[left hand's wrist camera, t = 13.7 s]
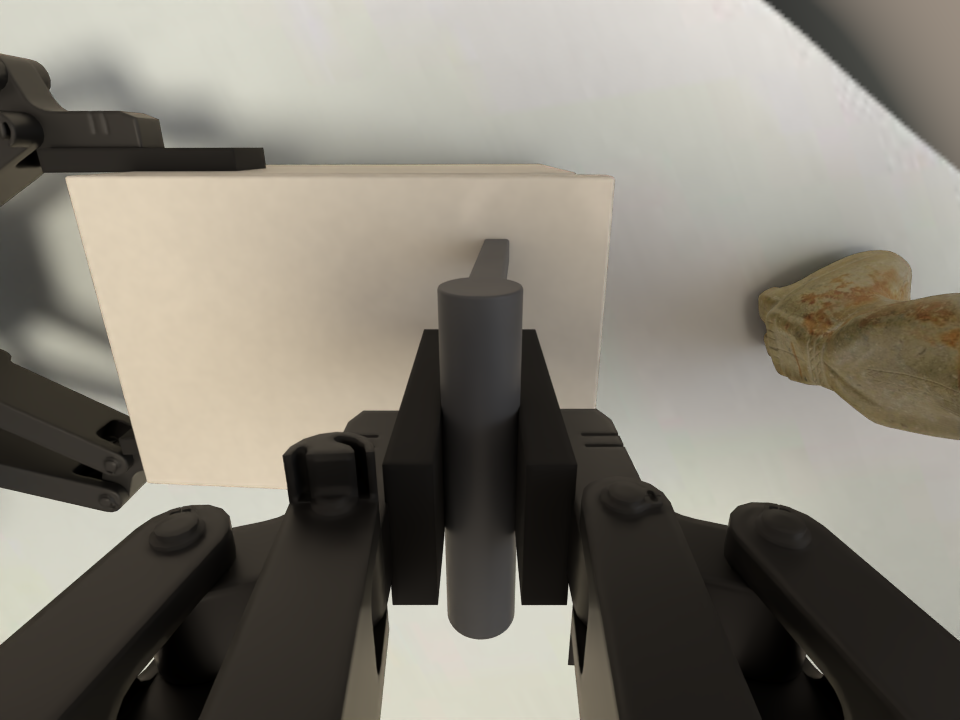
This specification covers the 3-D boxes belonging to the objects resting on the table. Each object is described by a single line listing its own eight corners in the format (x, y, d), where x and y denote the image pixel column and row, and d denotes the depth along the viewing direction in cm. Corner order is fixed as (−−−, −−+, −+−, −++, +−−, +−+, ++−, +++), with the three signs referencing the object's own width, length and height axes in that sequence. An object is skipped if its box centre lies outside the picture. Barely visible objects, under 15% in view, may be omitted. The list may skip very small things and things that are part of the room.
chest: (541, 163, 25) (576, 172, 16) (533, 365, 29) (559, 461, 20) (229, 164, 25) (95, 173, 16) (262, 366, 29) (168, 463, 20)
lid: (608, 174, 15) (692, 200, 8) (583, 481, 19) (623, 700, 11) (96, 173, 16) (-271, 196, 9) (168, 464, 20) (-45, 654, 13)
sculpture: (885, 335, 28) (1282, 516, 14) (748, 373, 29) (998, 579, 15) (882, 227, 26) (1339, 317, 12) (734, 271, 27) (1008, 402, 13)
